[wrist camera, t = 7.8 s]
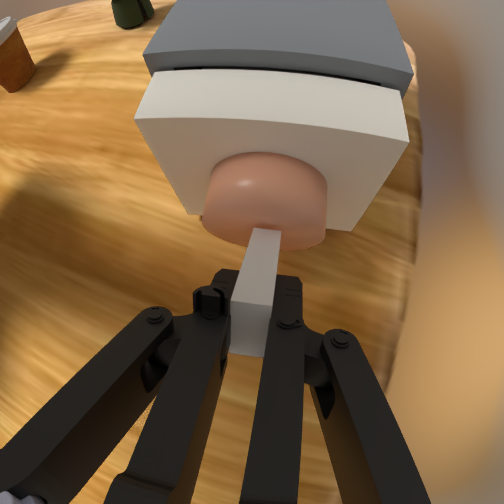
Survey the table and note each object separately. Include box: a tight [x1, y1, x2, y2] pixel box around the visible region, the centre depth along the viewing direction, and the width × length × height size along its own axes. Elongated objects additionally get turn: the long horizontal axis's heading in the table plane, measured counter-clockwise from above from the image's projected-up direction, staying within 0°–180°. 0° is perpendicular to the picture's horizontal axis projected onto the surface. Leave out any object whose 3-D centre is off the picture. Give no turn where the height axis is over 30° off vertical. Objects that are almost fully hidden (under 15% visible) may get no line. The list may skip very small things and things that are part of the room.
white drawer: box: [134, 66, 409, 251], centre depth 21 cm, size 21×13×12 cm, turn 173°
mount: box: [143, 0, 414, 100], centre depth 22 cm, size 16×14×14 cm
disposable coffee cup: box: [0, 17, 36, 93], centre depth 30 cm, size 10×10×12 cm
